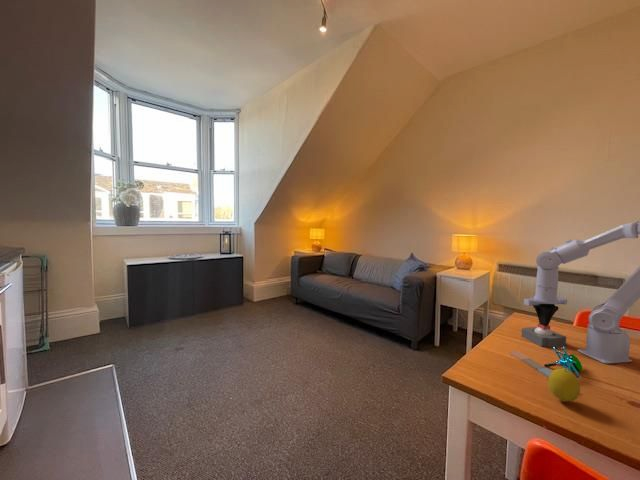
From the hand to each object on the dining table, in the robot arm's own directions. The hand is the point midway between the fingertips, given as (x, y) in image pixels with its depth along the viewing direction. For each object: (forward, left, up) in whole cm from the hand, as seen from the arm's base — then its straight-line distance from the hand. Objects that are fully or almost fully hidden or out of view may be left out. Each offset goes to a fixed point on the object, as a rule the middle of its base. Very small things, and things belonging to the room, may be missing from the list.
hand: (543, 325), depth 96 cm
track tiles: (+17, +14, -6) cm, 23 cm away
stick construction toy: (+11, +17, -6) cm, 21 cm away
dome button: (0, 0, -6) cm, 6 cm away
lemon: (+24, +29, -6) cm, 38 cm away
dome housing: (0, 0, -6) cm, 6 cm away
